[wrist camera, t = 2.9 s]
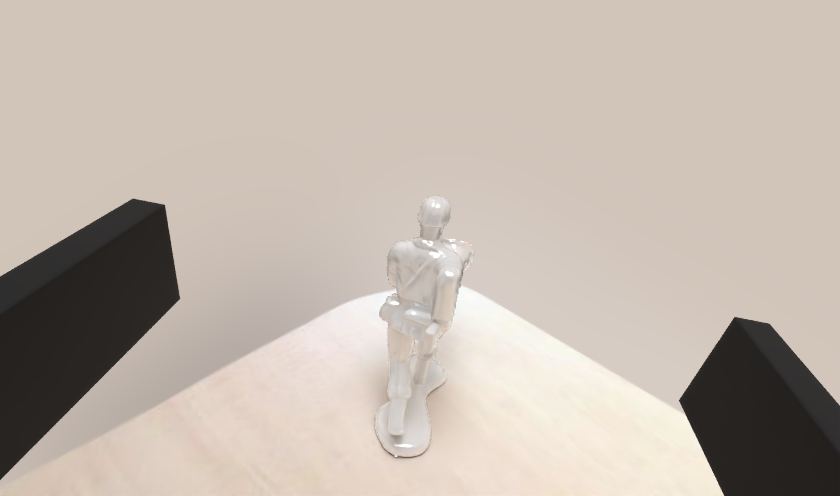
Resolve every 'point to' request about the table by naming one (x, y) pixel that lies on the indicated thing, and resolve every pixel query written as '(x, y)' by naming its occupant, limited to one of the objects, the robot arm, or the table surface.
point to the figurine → (418, 326)
